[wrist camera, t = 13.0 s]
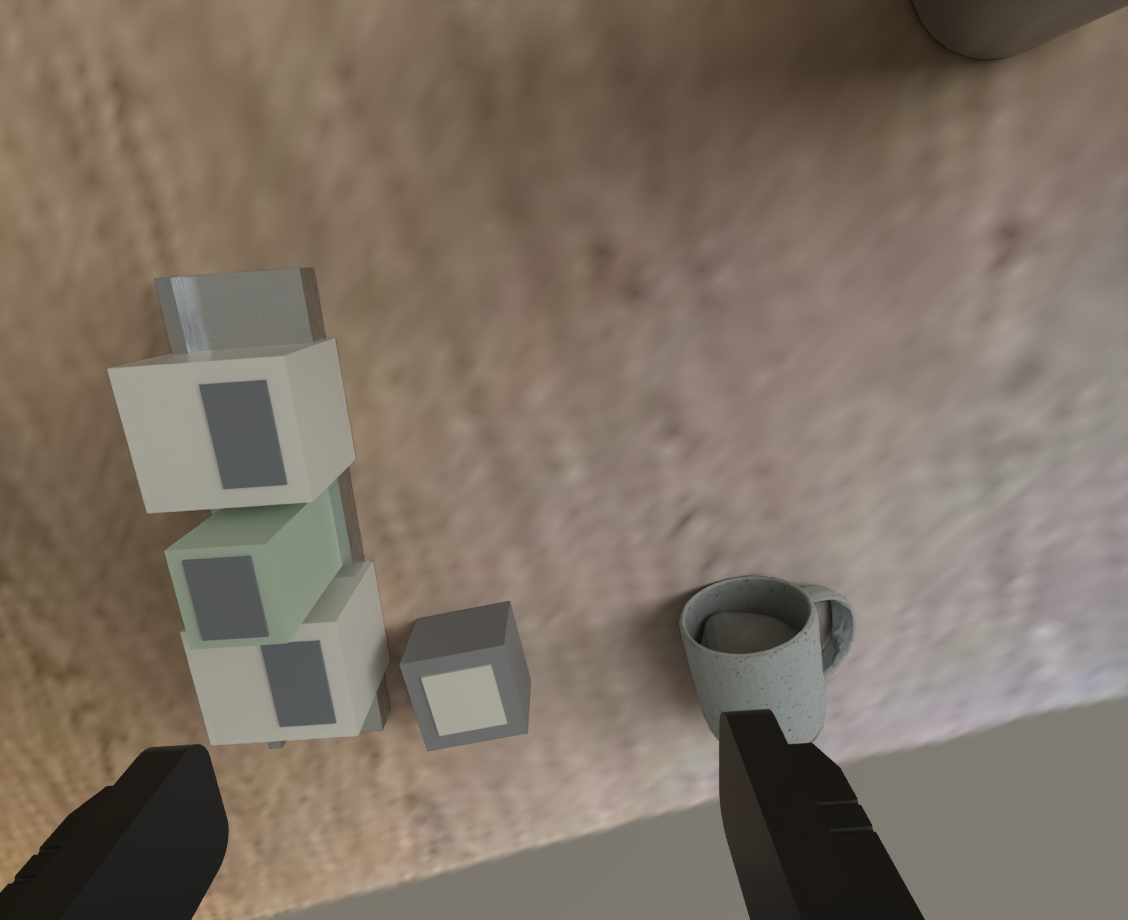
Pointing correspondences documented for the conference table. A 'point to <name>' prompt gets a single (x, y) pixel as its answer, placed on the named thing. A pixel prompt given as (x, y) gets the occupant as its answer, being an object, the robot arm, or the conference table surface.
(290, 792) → the conference table surface
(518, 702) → the block
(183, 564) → the module
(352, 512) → the rail
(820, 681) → the ceramic mug
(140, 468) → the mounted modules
